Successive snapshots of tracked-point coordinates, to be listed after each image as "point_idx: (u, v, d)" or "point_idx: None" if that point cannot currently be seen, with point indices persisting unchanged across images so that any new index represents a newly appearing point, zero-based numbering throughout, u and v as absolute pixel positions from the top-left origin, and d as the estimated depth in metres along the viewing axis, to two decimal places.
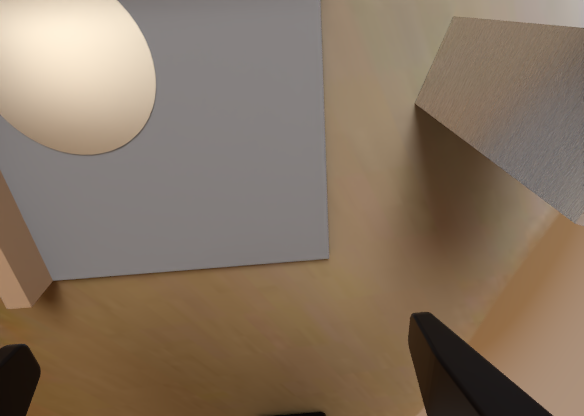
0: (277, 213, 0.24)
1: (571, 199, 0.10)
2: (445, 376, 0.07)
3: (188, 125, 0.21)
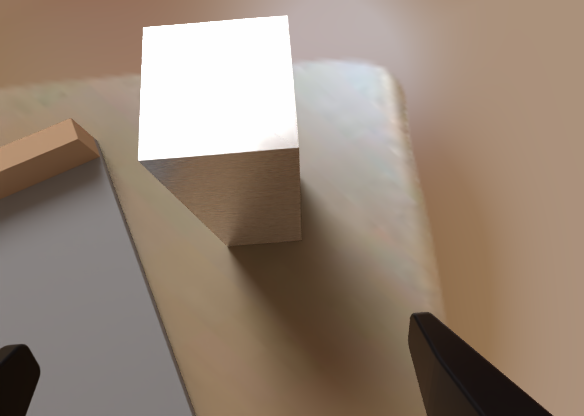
0: (126, 410, 0.20)
1: None
2: (445, 376, 0.07)
3: (20, 340, 0.21)
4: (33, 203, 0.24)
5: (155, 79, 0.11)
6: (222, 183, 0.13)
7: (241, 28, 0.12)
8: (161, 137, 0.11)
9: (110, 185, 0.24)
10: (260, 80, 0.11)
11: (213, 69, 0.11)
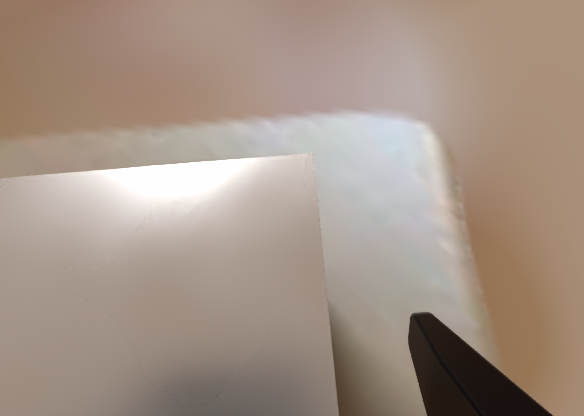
0: None
1: None
2: (445, 376, 0.07)
3: None
4: None
5: None
6: None
7: (200, 185, 0.05)
8: None
9: None
10: (245, 346, 0.04)
11: (122, 307, 0.04)
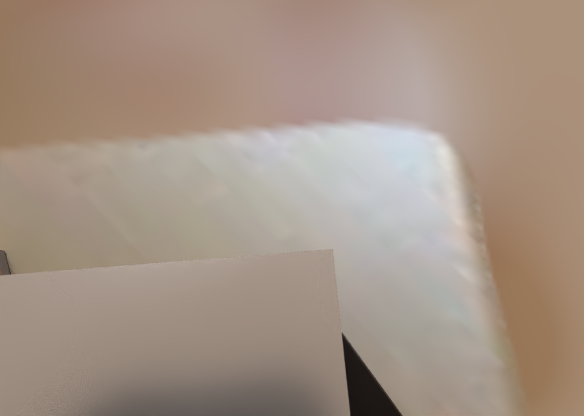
0: None
1: None
2: None
3: None
4: None
5: None
6: None
7: (151, 305, 0.03)
8: None
9: None
10: None
11: None
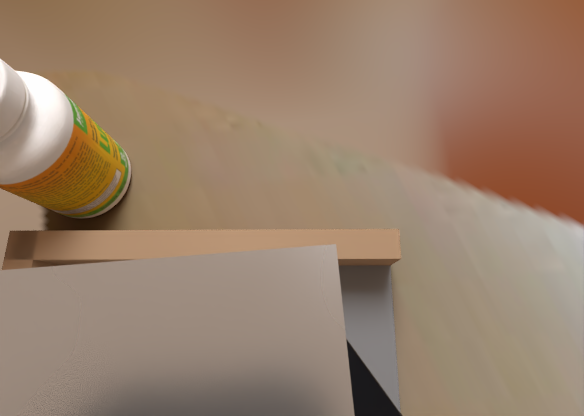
0: None
1: None
2: None
3: None
4: None
5: None
6: None
7: (157, 298, 0.03)
8: None
9: (392, 305, 0.21)
10: None
11: None
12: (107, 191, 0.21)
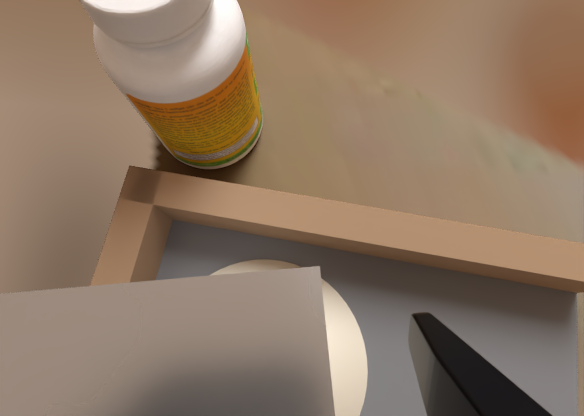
0: None
1: None
2: (445, 376, 0.07)
3: None
4: (465, 300, 0.17)
5: None
6: None
7: (194, 306, 0.04)
8: None
9: (576, 344, 0.16)
10: None
11: None
12: (242, 140, 0.18)
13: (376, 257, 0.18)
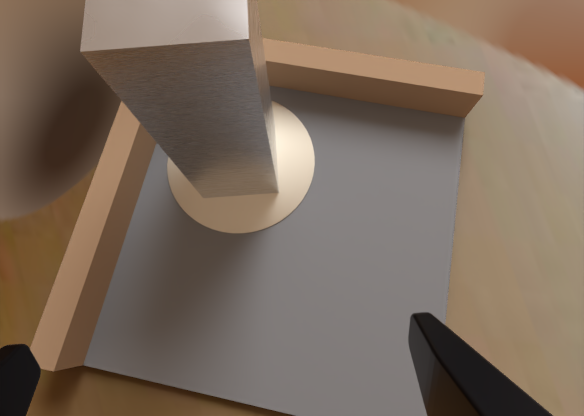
0: (381, 354, 0.20)
1: None
2: (445, 376, 0.07)
3: (320, 230, 0.22)
4: (386, 122, 0.24)
5: None
6: (178, 95, 0.12)
7: None
8: (105, 29, 0.10)
9: (461, 149, 0.23)
10: None
11: None
12: None
13: (325, 96, 0.25)
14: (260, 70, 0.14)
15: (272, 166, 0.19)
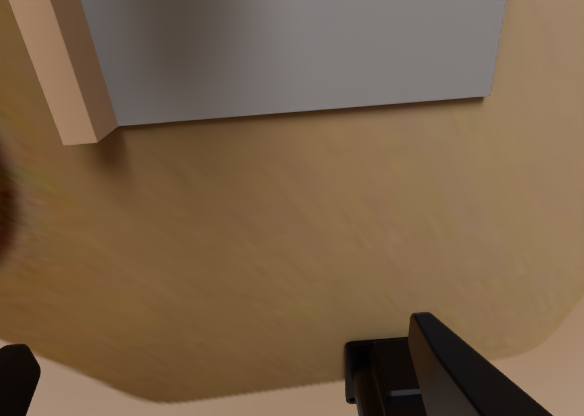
0: (435, 16, 0.17)
1: None
2: (445, 376, 0.07)
3: None
4: None
5: None
6: None
7: None
8: None
9: None
10: None
11: None
12: None
13: None
14: None
15: None
